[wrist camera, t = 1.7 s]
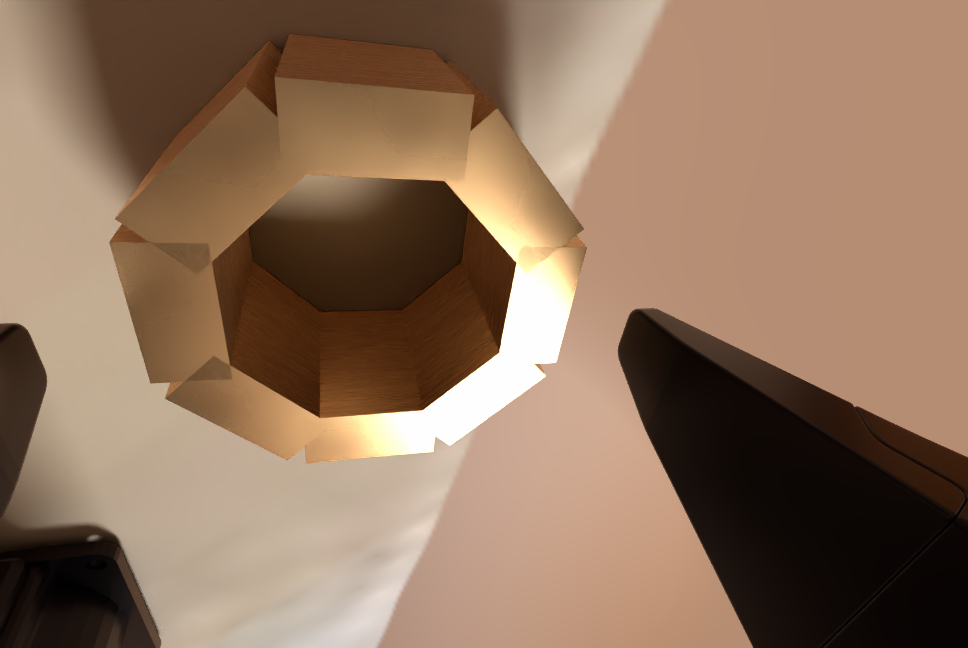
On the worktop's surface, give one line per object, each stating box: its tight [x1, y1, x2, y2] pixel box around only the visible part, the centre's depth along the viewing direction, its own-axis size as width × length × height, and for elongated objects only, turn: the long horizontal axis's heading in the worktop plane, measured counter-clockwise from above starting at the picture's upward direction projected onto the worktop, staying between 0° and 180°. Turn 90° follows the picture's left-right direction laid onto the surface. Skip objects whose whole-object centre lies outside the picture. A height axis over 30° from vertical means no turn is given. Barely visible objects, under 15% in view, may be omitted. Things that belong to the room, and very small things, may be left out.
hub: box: [109, 34, 587, 463], centre depth 10 cm, size 7×7×4 cm
